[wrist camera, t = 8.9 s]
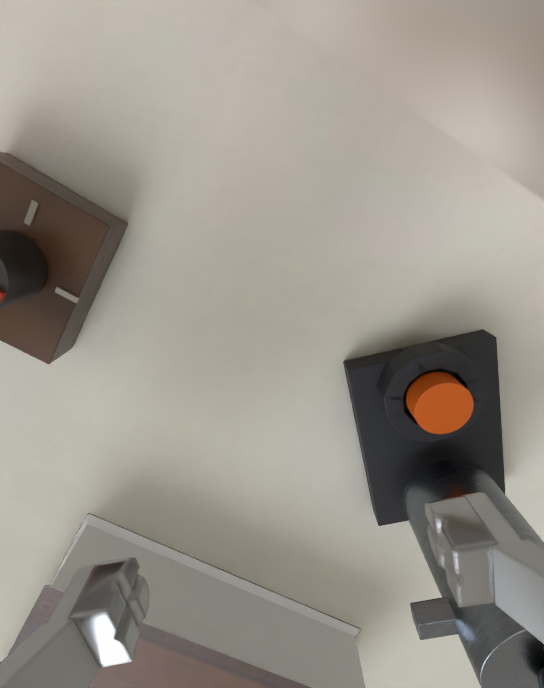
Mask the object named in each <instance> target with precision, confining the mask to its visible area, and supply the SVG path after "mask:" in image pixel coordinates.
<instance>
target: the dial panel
mask: <svg viewBox="0 0 544 688" xmlns="http://www.w3.org/2000/svg"><path fill="white" fill-rule="evenodd" d="M126 227H127V223H126V222H124V221H122V220H121V219H119V218H117V217H116V216H114V215H112V214H110V213H109V212H107V211H105V210H104V209H102V208H100V207H99V206H97V205H95V204H93V203H92V202H90V201H88V200H87V199H85V198H83V197H81V196H80V195H78V194H76V193H75V192H73V191H71V190H69V189H68V188H66V187H64V186H63V185H61V184H59V183H57V182H56V181H54V180H52V179H51V178H49V177H47V176H46V175H44V174H42V173H40V172H39V171H37V170H35V169H34V168H32V167H30V166H28V165H27V164H25V163H23V162H22V161H20V160H18V159H16V158H15V157H13V156H11V155H10V154H8V153H4V152H0V230H9V231H14V232H17V233H19V234H21V235H23V236H25V237H26V238H28V239H29V240H31V241H32V242H33V243H34V244H35V245H36V246H37V248H38V249H39V250H40V252H41V254H42V255H43V258H44V260H45V264H46V270H47V274H46V280H45V283H44V285H43V287H42V289H41V290H40V291H39V292H38V293H37V294H35V295H34V296H32V297H29V298H27V299H24V300H21V301H19V302H16V303H13V304H10V305H8V306H5V307H2V308H0V340H1V341H3V342H5V343H7V344H9V345H11V346H13V347H15V348H17V349H19V350H21V351H23V352H25V353H27V354H29V355H31V356H33V357H35V358H37V359H39V360H41V361H43V362H45V363H47V364H50V363H51V362H53V361H54V360H56V359H57V358H59V357H60V356H61V355H63V354H64V353H66V352H67V351H69V350H70V349H71V348H72V346H73V344H74V342H75V340H76V338H77V335H78V333H79V331H80V329H81V327H82V324H83V322H84V320H85V318H86V315H87V313H88V311H89V309H90V307H91V304H92V302H93V300H94V298H95V296H96V293H97V291H98V289H99V287H100V285H101V282H102V280H103V278H104V276H105V273H106V271H107V269H108V267H109V265H110V262H111V260H112V258H113V256H114V254H115V251H116V249H117V247H118V245H119V243H120V240H121V238H122V236H123V234H124V231H125V229H126Z"/></svg>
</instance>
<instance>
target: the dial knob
mask: <svg viewBox="0 0 544 688" xmlns="http://www.w3.org/2000/svg"><path fill="white" fill-rule="evenodd" d="M46 274H47V270H46V264H45V260H44V258H43V255H42V254H41V252H40V250H39V249H38V248H37V246H36V245H35V244H34V243H33V242H32V241H31V240H29V239H28V238H26V237H25V236H23V235H21V234H19V233H17V232H14V231H9V230H0V308H2V307H5V306H8V305H10V304H13V303H16V302H19V301H21V300H24V299H27V298H29V297H32V296H34V295H35V294H37V293H38V292H39V291H40V290H41V289H42V287H43V285H44V283H45V280H46Z"/></svg>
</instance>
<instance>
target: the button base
mask: <svg viewBox="0 0 544 688" xmlns="http://www.w3.org/2000/svg"><path fill="white" fill-rule="evenodd" d="M344 367H345V372H346V377H347V382H348V387H349V392H350V397H351V402H352V407H353V412H354V417H355V422H356V427H357V432H358V437H359V442H360V447H361V451H362V456H363V461H364V466H365V471H366V476H367V481H368V486H369V491H370V496H371V501H372V506H373V511H374V514H375V517H376V520H377V523H378V525H379V526H381V525H387V524H392V523H397V522H402V521H408V518H407V515H406V513H405V511H404V508H403V501H402V500H403V493H404V489H405V487H406V485H407V483H408V482H409V480H410V479H411V478H412V476H413V475H414V474H415V473H417V472H418V471H419V470H420V469H422V468H423V467H425V466H427V465H429V464H431V463H434V462H436V461H440V460H445V459H463V460H468V461H471V462H473V463H476V464H478V465H479V466H481V467H482V468H483V469H484V470H485V471H486V472H487V473H488V474H489V476H490V477H491V478H492V479H493V480H494V482H495V483H496V484H497V485H498V487H499V488H500V489H501V490H502V492H503V493H504V494H505V482H504V465H503V447H502V429H501V412H500V394H499V376H498V359H497V341H496V337H495V336H493V335H492V334H490V333H488V332H486V331H485V330H480V331H475V332H471V333H466V334H462V335H458V336H453V337H449V338H444V339H440V340H436V341H431V342H427V343H422V344H418V345H414V346H409V347H405V348H400V349H396V350H392V351H387V352H383V353H378V354H374V355H370V356H365V357H361V358H356V359H352V360H348V361H344ZM434 371H440V372H445V373H448V374H450V375H452V376H453V377H455V378H456V379H457V380H458V381H459V382H460V383H461V384H462V385H463V386H464V387H465V388H466V389H467V390H468V391H469V392H470V393H471V395H472V398H473V402H474V407H473V412H472V414H471V417H470V418H469V420H468V421H467V422H466V423H465V424H464V425H463V426H462V427H461V428H459V429H457V430H455V431H453V432H451V433H447V434H434V433H430V432H428V431H426V430H424V429H423V428H422V427H420V425H419V424H418V423H417V421H416V420H415V418H414V417H413V415H412V414H411V412H410V411H409V409H408V407H407V404H406V394H407V391H408V389H409V387H410V385H411V384H412V383H413V382H414V380H416V379H417V378H418V377H420V376H421V375H423V374H426V373H429V372H434Z"/></svg>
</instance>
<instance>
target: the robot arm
mask: <svg viewBox="0 0 544 688" xmlns="http://www.w3.org/2000/svg"><path fill="white" fill-rule="evenodd" d="M425 515H426V517H427V519H428V521H429V523H430V524H429V525H428V527H427V531H428V537H429V541H430V545H431V548H432V551H433V554H434V556H435V558H436V561H437V563H438V565H439V566H440V567H441V568H442V569H444V570H445V572H446V580H447V584H448V586H449V588H450V590H451V592H452V594H453V596H454V598H455V600H456V602H457V604H458V606H459V608H460V607H467V606H475V605H482V604H490V603H495V605H496V606H498V607H499V608H500V609H501V610H503V611H504V612H505V613H506V614H507V615H509V616H510V617H511V618H512V619H514V620H515V621H516V622H517V623H519V624H520V625H521V626H522V627H523V628H525V629H526V630H527V631H528V632H530V633H531V634H532V635H533V636H534V637H536V638H537V639H538V640H539V641H541V642H542V643H543V644H544V547H542V546H540V545H538V544H536V543H534V542H532V541H530V540H528V539H526V540H521V539H520V537H519V536H518V535H517V533H516V532H515V531H514V530H513V528H512V527H511V526H510V525H509V523H508V522H507V521H506V519H505V518H504V517H503V516H502V514H501V513H500V512H499V510H498V509H497V508H496V507H495V505H494V504H493V503H492V501H491V500H490V499H489V498H488V496H487V495H486V494H485V493H483V492H477V493H472V494H467V495H463V496H457V497H452V498H447V499H442V500H437V501H432V502H427V503H425ZM139 568H140V566H139V564H138V562H137V560H136V558H132V557H130V558H123V559H117V560H111V561H104V562H99V563H94V564H88V565H82V566H81V567H80V568H78V569H77V570H76V572H75V574H74V576H73V578H72V579H71V581H70V583H69V585H68V587H67V589H66V590H65V592H64V594H63V596H62V598H61V600H60V601H59V603H58V605H57V607H56V609H55V610H54V612H53V614H52V616H51V618H50V620H49V621H48V623H46V624H42V625H41V626H40V627H39V628H37V629H36V630H35V631H34V632H33V633H32V634H31V635H30V636H29V637H28V638H27V639H26V640H24V641H23V642H22V643H21V644H20V645H19V646H18V647H17V648H16V649H15V650H14V651H12V652H11V653H10V654H9V655H8V656H7V657H6V658H5V659H4V660H3V661H2V662H1V663H0V688H88V686H89V685H90V684H91V682H92V681H93V680H94V678H95V677H96V675H97V674H98V673H99V671H100V668H102V667H107V666H112V665H117V664H122V663H127V662H132V660H133V656H134V653H135V650H136V647H137V644H138V640H139V637H140V632H139V629H138V625H139V624H140V623H141V622H142V621H143V620H144V618H145V617H146V614H147V611H148V607H149V597H150V593H149V587H148V583H147V581H146V579H145V578H144V577H142V576H141V575H139V574H138V571H139Z"/></svg>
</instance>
